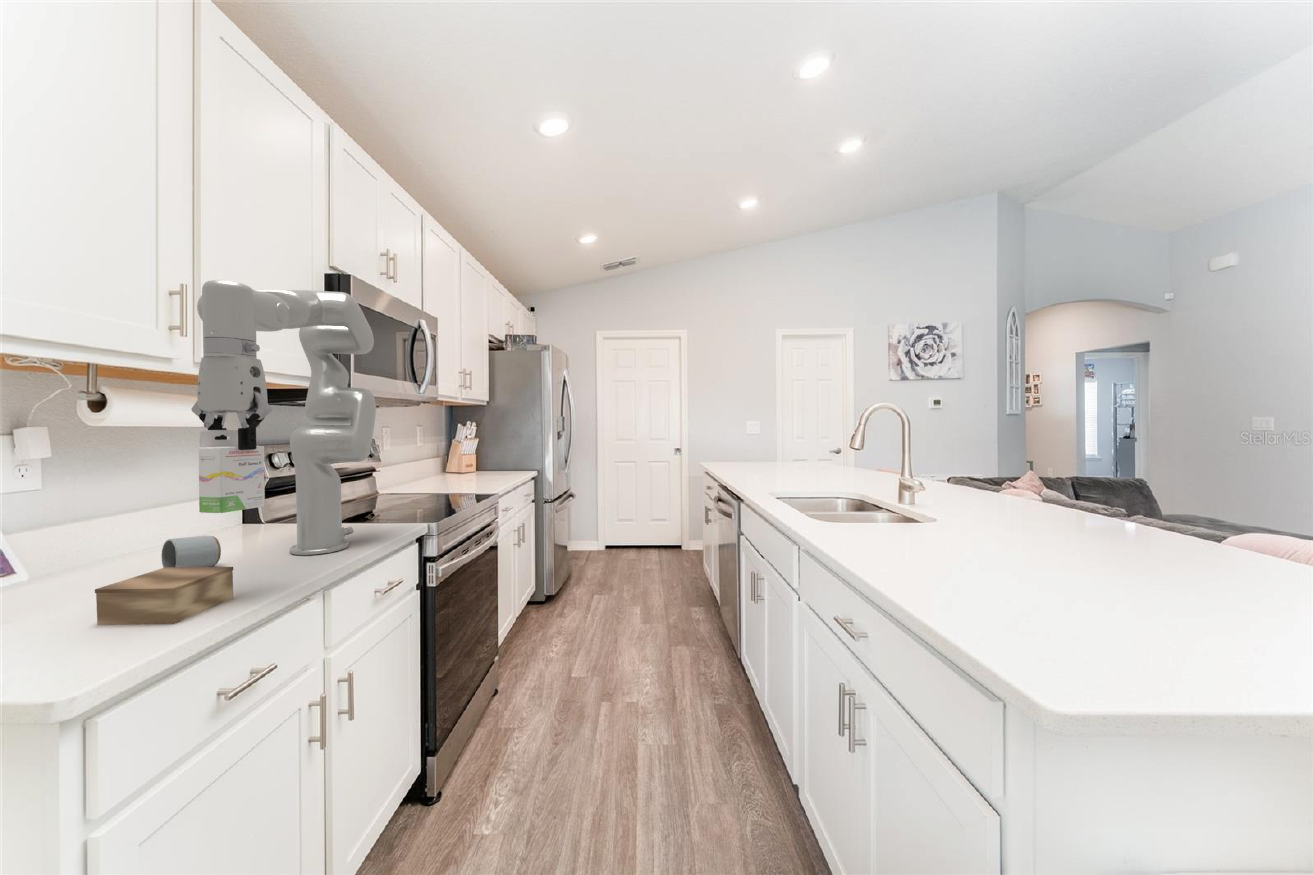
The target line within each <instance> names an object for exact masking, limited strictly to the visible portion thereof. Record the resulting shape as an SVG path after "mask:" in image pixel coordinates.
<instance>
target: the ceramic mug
mask: <svg viewBox="0 0 1313 875" xmlns="http://www.w3.org/2000/svg"><path fill="white" fill-rule="evenodd" d="M221 552H222V549H221V543H220V541H219V539H218V538H217V537H215V536H212V535H199V536H189V537H177V538H176V537H175V538H168V539H167V540H166V541H164V543H163V546H162V549H161V556H160V557H161V565H162V568H165V567H215V566H216V565H217V564H218V563H219V561H220V560H221V555H222V553H221Z"/></svg>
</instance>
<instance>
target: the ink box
mask: <svg viewBox="0 0 1313 875" xmlns="http://www.w3.org/2000/svg"><path fill="white" fill-rule="evenodd" d="M221 435H224V436H227V437H229V439H227V440H215V437H216V436H221ZM265 491H266V489H265V446H264V445H256V449H254V450H239V449H238V429H233V430H232V429H227V430H208V429H207V430H205V429H201V430H200V432H199V447H198V496H199V498H198V501H199V502H198V503H199V513H204V514H205V513H206V514H224V513H231V512H237V511H243V510H249V509H256V508H263V507H265V504H266V500H265V498H266V496H265V495H266V493H265Z"/></svg>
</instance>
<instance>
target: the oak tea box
mask: <svg viewBox="0 0 1313 875" xmlns="http://www.w3.org/2000/svg"><path fill="white" fill-rule="evenodd" d="M233 571H234V566H212V567H165V568H163V567H162V568H159V569H156V570H153V571H150V572H146V573H143V574H140V575H137V576H133V577H130V578H127V579H123V580H120V581H117V582H114V583H111V584H108V585H105V586H101V587H98V588H96V589H94V594H95V596H96V622H97V626H117V625H118V626H123V625H124V626H128V625H129V626H130V625H131V626H133V625H136V626H138V625H176V624H178V623H180V622H183V621H184V619H185V620H187V619H190V618H192V617H193V616H196V615H199V614H201V613H203V612H205V611H207V610H209V609H211V608H214V607H216V606H219V605H221V604H223V603H225V602H228V601H230V600H233V599H234V574H233ZM186 618H187V619H186ZM182 620H183V621H182ZM175 623H176V624H175Z"/></svg>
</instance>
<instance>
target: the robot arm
mask: <svg viewBox="0 0 1313 875" xmlns="http://www.w3.org/2000/svg"><path fill="white" fill-rule="evenodd" d="M196 306H197V307H196V308H197V309H196V311H197V314H198V315H199V318H200V320H201V321H202V350H203V351H202V353H203V354H202V355H203V356H202V357H201V360H200V363H199V368H198V375H197V388H196V389H197V390H196V391H197V392H196V395H197V397H196V398H197V400H196V402H195V403H194V404H193V406H192V407H191V412H192V413H193V414H194V415H196V416H197V417H198V418H199V420H200V421H201V422H202V423H203V427H204V428H205V429H207V430H228V429H227V427H224V424H225V421H226V419H227V418H226V417H227V413H236V414H237V418H238V420H239V424H240V427H238V429H237V430H238V449H239V450H254V449H256V446H257V429H258V428H260V426H261V425H260V424H261V423H262V421H264V419H265V417H267V416H268V415H269V414H271V413H272V411H273V408H272V406H271V405H270V404H269V403H268V389H267V381H266V380H267V379H266V375H265V370H264V366H263V362H262V360H261V359H259V358H258V357H257V352H260V350H261V347H260V345H259V344H257V332H266V333H267V332H279V331H282V330H292V329H299V330H298V338H299V341H300V342H299V343H300V344H301V347H302V350H303V351H304V354H305V357H306V358H307V361H308V364H309V367H310V372H311V373H310V380H309V384H308V389H307V394H306V400H305V406H304V410H305V416H306V418H307V419H308V420H309V421H310V422H313V423H317V424H312V425H311V424H310V425H304V426H300V427H299V428H296V429H295V430H294V431H293V432H292V434H290V435H291V436H290V438H289V448H290V451H291V452H290V453H291V456H292V460H293V465H294V473H295V498H296V499H295V500H296V501H295V505H296V506H295V507H296V542H297V543H296V544H294V545H291V546H290V547H289V553H290V554H291V555H296V556H313V555H323V554H329V553H335V552H339V551H342V550H344V549H346V548H348V547H349V546H350V541H349V540H347V539H345V537H346V536H349V535H352V534H353V533H354V528H353V526H347V527H342V526H343V524H342V523H343V522H342V518H343V517H342V481H341V476H340V475H339V472H337V470H336V469H335V468H334V467H333V466H332V465H331V464H333V463H334V464H335V463H337V464H339V463H361V462H363V461H366V460H367V458H369V455H370V453H371V449H372V443H373V437H374V428H375V421H376V414H377V404H376V400H375V396H374V394H373V393H372V392H371V391H370V390H368V389H365V388H362V387H348V385H349V381H350V380H349V379H350V375H349V372H348V370H347V369H346V367H345V366H344V364H342V363H341V362H340V361H339V360H338V359H337V358H336V357H335V354H337V355H366V354H368V353H370V352H371V351H372V350H373V348H374V344H375V343H374V342H375V340H374V339H375V338H374V334H373V333H374V332H373V331H372V328H371V326H370V324H369V322H368V320H367V318H366V316H365V314H364V312H363V311H362V308H361V306H360V305H359V304H358V302H357V301H356V300H355V298H354V297H353V296H352V295H351V294H349V293H346V292H344V291H343V292H342V291H327V290H308V289H263V290H255V289H253V288H252V287H251V286H248V285H246V284H245V283H241V282H236V281H232V280H226V279H225V280H224V279H215V280H208V281H205V282H204V283H203V284H202V288H201V295H200V296H199V298H198V301H197V304H196ZM333 354H334V355H333ZM344 424H345V425H344ZM215 440H228V436H224V435H221V436H216V437H215Z"/></svg>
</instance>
